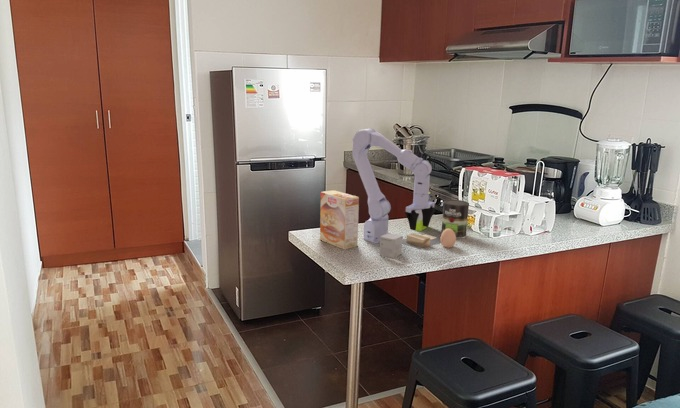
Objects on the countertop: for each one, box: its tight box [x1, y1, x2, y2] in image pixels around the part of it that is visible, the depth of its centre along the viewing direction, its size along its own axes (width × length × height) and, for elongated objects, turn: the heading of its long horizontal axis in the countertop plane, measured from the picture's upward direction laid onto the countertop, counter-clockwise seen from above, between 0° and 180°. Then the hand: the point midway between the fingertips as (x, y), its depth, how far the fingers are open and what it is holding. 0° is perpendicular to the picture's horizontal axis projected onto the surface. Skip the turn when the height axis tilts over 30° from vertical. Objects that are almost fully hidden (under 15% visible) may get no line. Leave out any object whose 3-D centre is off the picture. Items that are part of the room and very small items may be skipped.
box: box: [414, 191, 431, 232], centre depth 221 cm, size 10×4×17 cm, turn 154°
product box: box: [379, 232, 404, 260], centre depth 188 cm, size 6×6×7 cm
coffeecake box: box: [319, 189, 360, 250], centre depth 198 cm, size 15×7×20 cm, turn 40°
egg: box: [439, 228, 457, 248], centre depth 197 cm, size 6×6×8 cm
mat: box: [402, 233, 441, 250], centre depth 204 cm, size 18×12×1 cm, turn 131°
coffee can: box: [440, 199, 470, 239], centre depth 213 cm, size 10×10×14 cm
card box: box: [406, 232, 431, 249], centre depth 200 cm, size 4×8×3 cm, turn 41°
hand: (419, 227), depth 199 cm, fingers open, 7 cm apart
